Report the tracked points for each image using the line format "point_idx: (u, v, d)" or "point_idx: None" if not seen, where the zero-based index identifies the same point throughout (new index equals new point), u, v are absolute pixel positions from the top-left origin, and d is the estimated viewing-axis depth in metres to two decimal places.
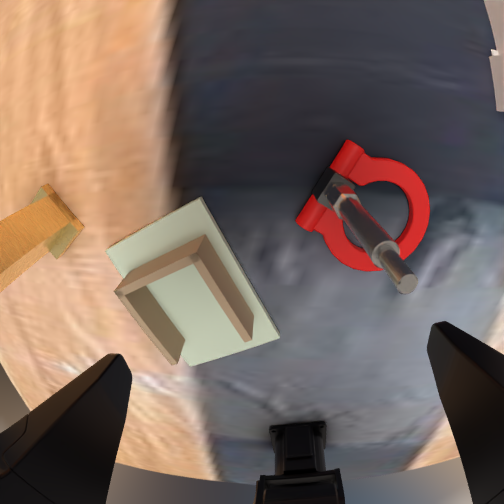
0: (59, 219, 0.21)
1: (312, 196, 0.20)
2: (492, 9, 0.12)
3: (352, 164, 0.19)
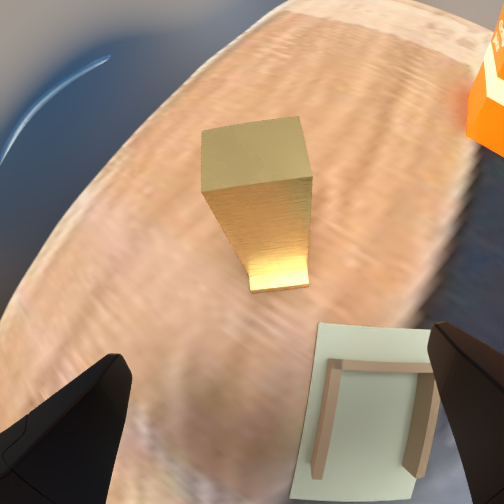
0: None
1: None
2: None
3: None
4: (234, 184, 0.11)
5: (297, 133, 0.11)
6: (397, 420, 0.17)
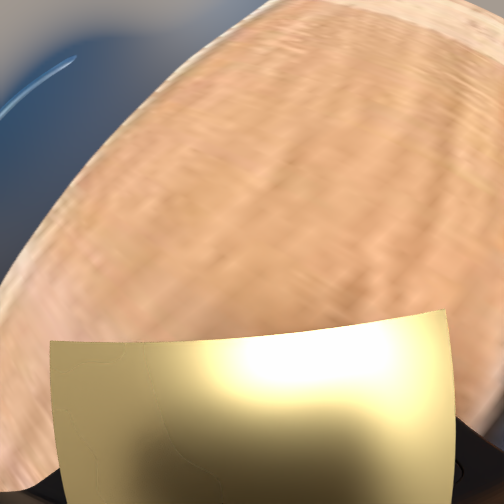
0: None
1: None
2: None
3: None
4: None
5: (435, 414, 0.02)
6: None
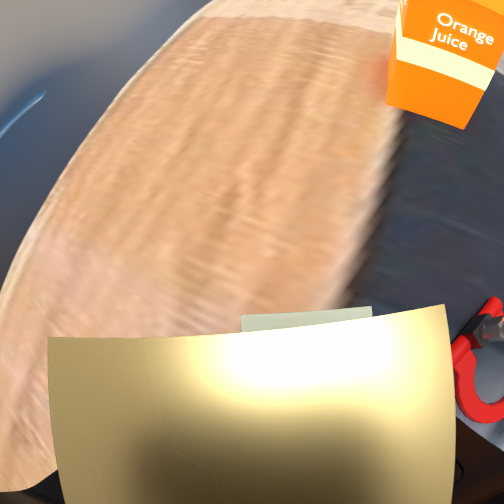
0: None
1: (460, 336, 0.18)
2: None
3: (494, 315, 0.18)
4: None
5: (434, 411, 0.02)
6: None
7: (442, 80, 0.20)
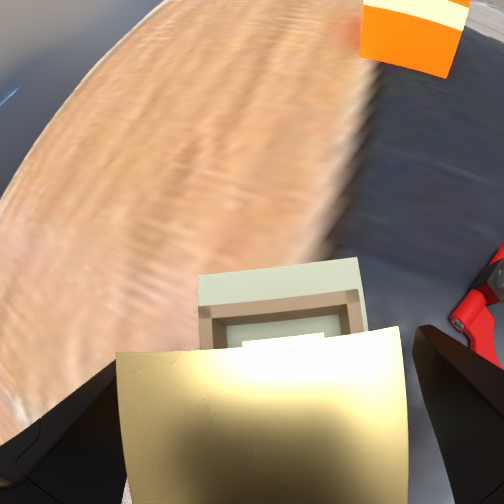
0: None
1: (472, 290, 0.15)
2: None
3: None
4: None
5: (390, 397, 0.03)
6: None
7: (415, 23, 0.18)
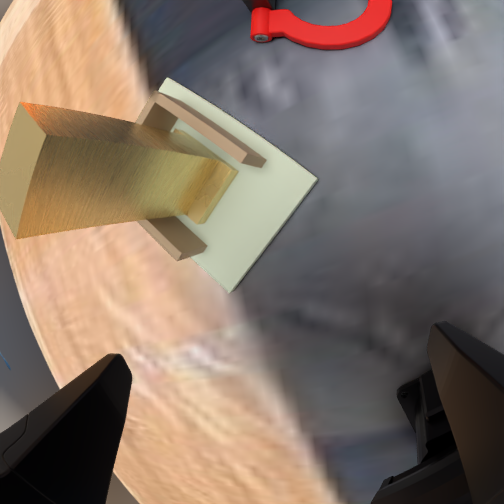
0: (204, 153, 0.17)
1: (252, 13, 0.16)
2: None
3: None
4: (21, 208, 0.08)
5: (24, 116, 0.08)
6: None
7: None
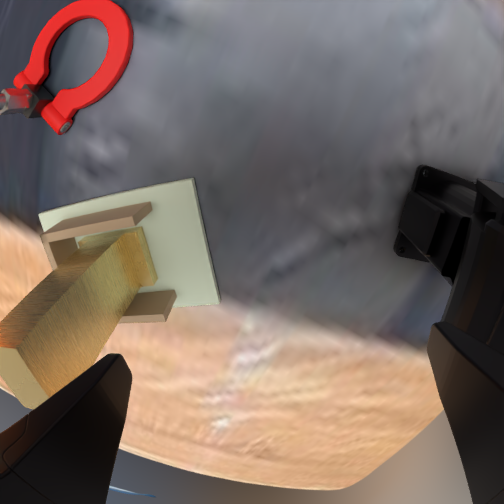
0: (109, 240, 0.19)
1: (43, 117, 0.17)
2: None
3: (25, 82, 0.15)
4: None
5: None
6: None
7: None
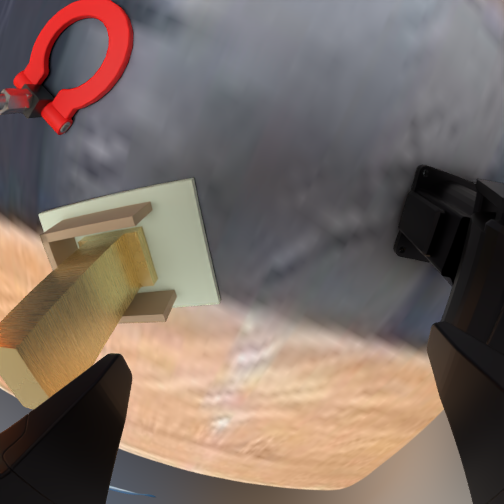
0: (109, 240, 0.19)
1: (43, 117, 0.17)
2: None
3: (25, 82, 0.15)
4: None
5: None
6: None
7: None
